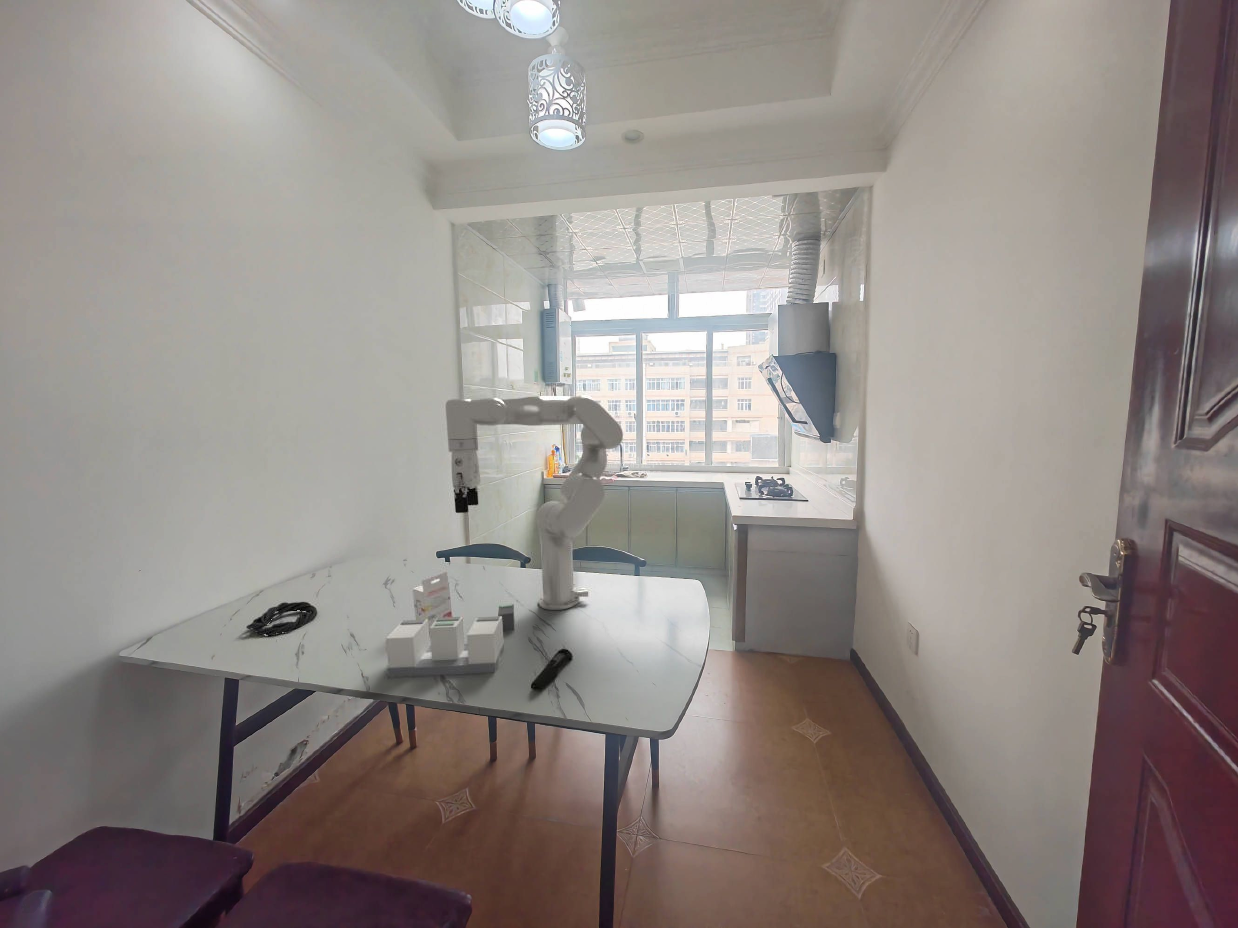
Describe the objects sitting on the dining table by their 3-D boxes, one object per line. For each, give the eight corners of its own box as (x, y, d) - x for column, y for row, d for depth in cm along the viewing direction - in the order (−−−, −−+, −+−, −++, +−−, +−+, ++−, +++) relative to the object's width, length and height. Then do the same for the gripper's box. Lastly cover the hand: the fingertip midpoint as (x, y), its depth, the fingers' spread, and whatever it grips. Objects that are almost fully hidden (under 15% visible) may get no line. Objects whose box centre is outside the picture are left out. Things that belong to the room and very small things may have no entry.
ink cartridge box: (441, 616, 135) (438, 568, 133) (452, 620, 132) (449, 571, 130) (415, 628, 127) (411, 577, 126) (426, 633, 125) (422, 580, 123)
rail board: (504, 649, 115) (502, 614, 114) (495, 672, 105) (492, 633, 104) (406, 654, 114) (403, 618, 113) (388, 677, 104) (384, 638, 103)
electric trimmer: (525, 694, 97) (525, 680, 96) (560, 656, 111) (559, 644, 111) (541, 698, 95) (540, 683, 95) (574, 658, 110) (573, 646, 109)
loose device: (514, 620, 131) (513, 603, 130) (514, 630, 125) (513, 611, 124) (500, 622, 130) (499, 604, 129) (499, 632, 124) (498, 613, 124)
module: (464, 648, 112) (462, 615, 111) (458, 659, 107) (455, 625, 106) (439, 649, 111) (437, 616, 111) (432, 660, 107) (429, 626, 106)
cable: (294, 609, 144) (293, 595, 143) (333, 611, 141) (331, 598, 141) (240, 635, 127) (238, 620, 127) (283, 638, 124) (281, 623, 124)
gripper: (468, 447, 114) (472, 515, 116) (485, 443, 131) (489, 502, 133) (437, 448, 114) (442, 516, 116) (459, 443, 131) (463, 503, 133)
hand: (467, 508), depth 124 cm, fingers open, 9 cm apart
